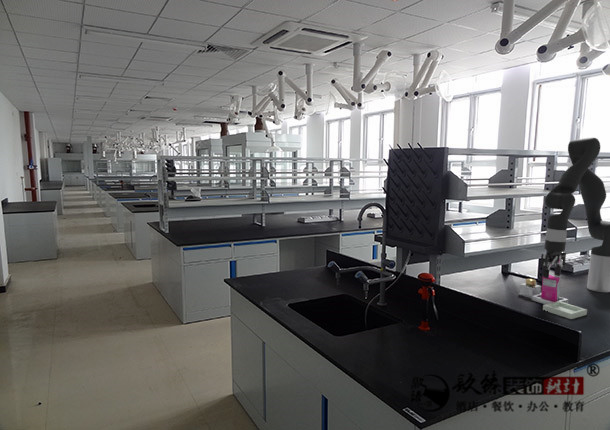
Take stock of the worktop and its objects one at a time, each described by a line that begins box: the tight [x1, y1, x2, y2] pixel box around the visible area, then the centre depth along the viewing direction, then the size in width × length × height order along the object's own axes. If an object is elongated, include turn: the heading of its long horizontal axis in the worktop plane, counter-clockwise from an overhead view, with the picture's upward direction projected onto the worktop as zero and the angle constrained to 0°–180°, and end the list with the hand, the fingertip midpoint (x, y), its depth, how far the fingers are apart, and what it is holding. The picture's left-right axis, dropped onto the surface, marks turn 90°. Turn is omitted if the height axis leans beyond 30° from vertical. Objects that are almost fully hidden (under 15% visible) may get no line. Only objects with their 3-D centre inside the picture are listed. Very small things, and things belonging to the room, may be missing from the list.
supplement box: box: [541, 274, 562, 302], centre depth 173 cm, size 6×6×12 cm
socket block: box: [518, 282, 570, 305], centre depth 177 cm, size 10×17×5 cm, turn 28°
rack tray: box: [542, 301, 588, 320], centre depth 162 cm, size 11×11×2 cm
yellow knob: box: [525, 278, 537, 286], centre depth 181 cm, size 4×4×6 cm
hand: (551, 276), depth 173 cm, fingers open, 8 cm apart
